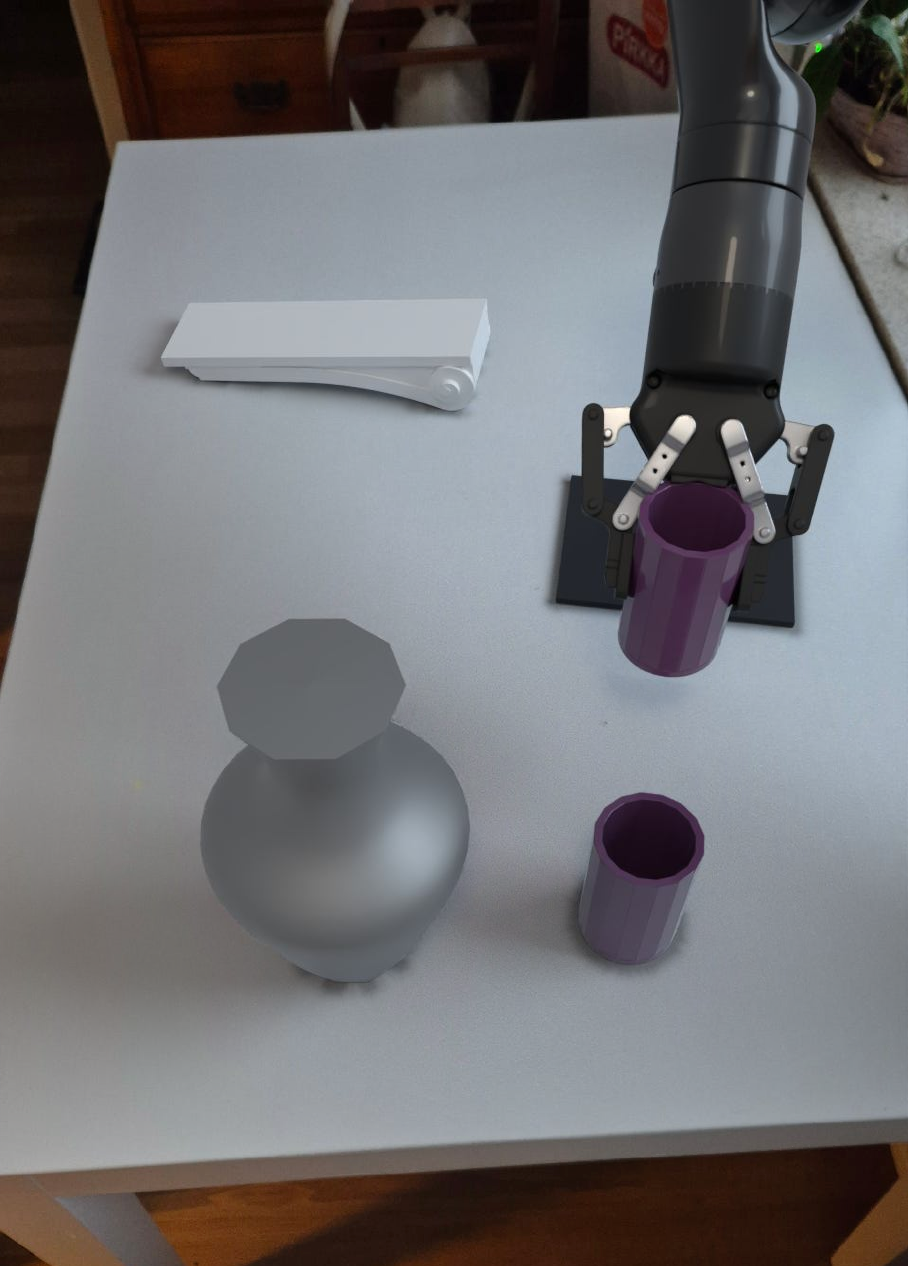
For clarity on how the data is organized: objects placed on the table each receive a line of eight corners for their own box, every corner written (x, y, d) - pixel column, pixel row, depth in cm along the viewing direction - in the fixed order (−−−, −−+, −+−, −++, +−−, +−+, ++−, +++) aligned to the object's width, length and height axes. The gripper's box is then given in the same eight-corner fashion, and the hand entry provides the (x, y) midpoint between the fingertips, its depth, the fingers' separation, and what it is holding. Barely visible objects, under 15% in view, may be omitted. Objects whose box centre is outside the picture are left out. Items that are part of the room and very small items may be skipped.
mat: (789, 500, 93) (791, 495, 93) (793, 627, 86) (795, 622, 85) (570, 480, 95) (571, 474, 94) (555, 603, 87) (556, 598, 87)
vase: (228, 1044, 68) (125, 821, 47) (250, 839, 76) (171, 568, 55) (469, 1043, 68) (474, 819, 47) (467, 838, 76) (470, 567, 55)
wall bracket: (188, 426, 107) (480, 429, 101) (156, 372, 100) (467, 372, 94) (211, 340, 110) (495, 338, 104) (181, 282, 103) (483, 276, 97)
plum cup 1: (719, 606, 72) (754, 482, 63) (717, 683, 68) (754, 562, 60) (620, 596, 72) (642, 472, 64) (614, 672, 69) (636, 551, 60)
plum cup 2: (677, 883, 74) (705, 799, 65) (674, 970, 70) (703, 893, 62) (582, 872, 74) (597, 786, 66) (574, 958, 71) (590, 879, 63)
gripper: (591, 264, 58) (554, 594, 62) (876, 287, 57) (822, 621, 61) (588, 298, 66) (555, 591, 69) (841, 318, 65) (794, 615, 68)
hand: (680, 604), depth 65 cm, fingers closed on plum cup 1, 6 cm apart
